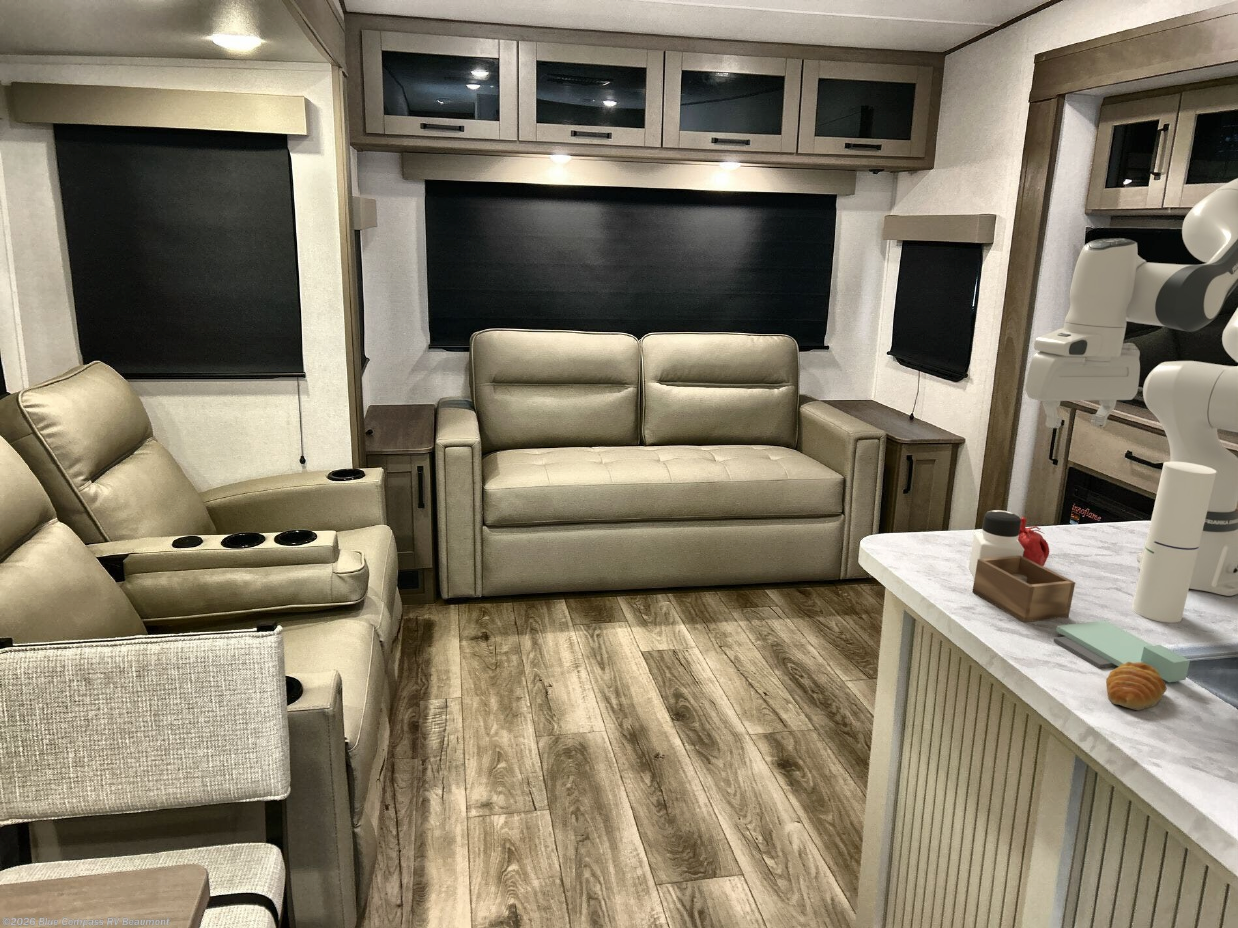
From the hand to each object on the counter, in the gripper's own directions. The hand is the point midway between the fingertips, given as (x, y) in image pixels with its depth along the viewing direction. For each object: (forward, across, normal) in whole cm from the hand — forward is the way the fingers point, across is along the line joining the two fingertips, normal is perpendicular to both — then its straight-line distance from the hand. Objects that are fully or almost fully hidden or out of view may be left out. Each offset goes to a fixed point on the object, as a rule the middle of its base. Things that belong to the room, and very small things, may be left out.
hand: (1075, 426), depth 146 cm
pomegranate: (+29, -4, -11) cm, 32 cm away
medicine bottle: (+29, +5, -7) cm, 31 cm away
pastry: (+30, +15, +32) cm, 47 cm away
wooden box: (+29, +9, +4) cm, 31 cm away
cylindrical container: (+29, -12, +12) cm, 34 cm away
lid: (+29, +7, +23) cm, 37 cm away
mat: (+29, +9, +21) cm, 37 cm away
